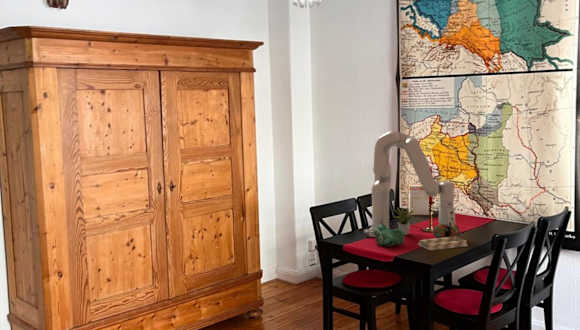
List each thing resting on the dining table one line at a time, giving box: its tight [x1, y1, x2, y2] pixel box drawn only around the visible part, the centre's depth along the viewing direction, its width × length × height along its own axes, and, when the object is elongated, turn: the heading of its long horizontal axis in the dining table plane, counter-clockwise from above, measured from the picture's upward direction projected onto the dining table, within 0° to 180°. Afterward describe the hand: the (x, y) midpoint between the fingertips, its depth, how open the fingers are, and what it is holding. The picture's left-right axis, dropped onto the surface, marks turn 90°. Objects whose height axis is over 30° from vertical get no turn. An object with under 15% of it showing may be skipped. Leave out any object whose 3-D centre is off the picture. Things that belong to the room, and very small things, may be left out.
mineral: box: [373, 224, 405, 247], centre depth 319 cm, size 18×16×10 cm
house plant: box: [394, 205, 416, 236], centre depth 340 cm, size 14×14×16 cm
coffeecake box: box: [408, 183, 434, 216], centre depth 391 cm, size 15×7×20 cm, turn 84°
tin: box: [432, 223, 460, 239], centre depth 329 cm, size 15×3×8 cm, turn 102°
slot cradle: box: [417, 236, 469, 251], centre depth 316 cm, size 23×12×3 cm, turn 109°
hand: (445, 236), depth 330 cm, fingers closed on tin, 2 cm apart
